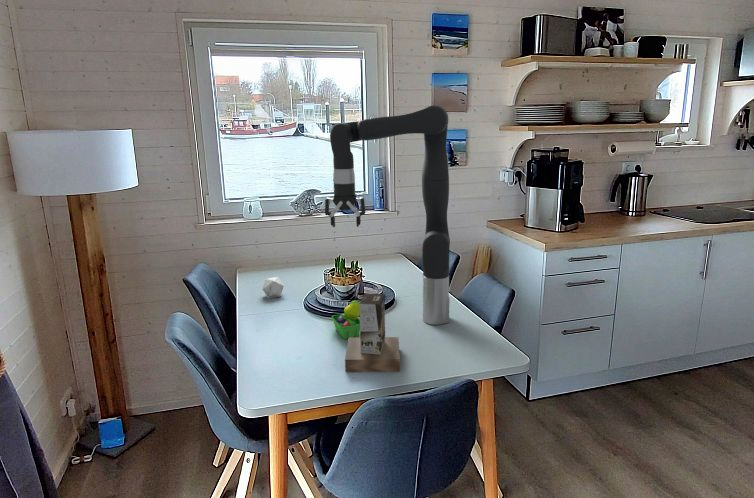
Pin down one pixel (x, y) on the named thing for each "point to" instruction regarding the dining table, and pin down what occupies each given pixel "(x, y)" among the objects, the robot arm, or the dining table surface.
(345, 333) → the fruit basket
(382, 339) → the coffee box
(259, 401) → the dining table surface
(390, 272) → the dining table surface
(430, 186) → the robot arm
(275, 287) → the die
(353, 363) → the wooden block
